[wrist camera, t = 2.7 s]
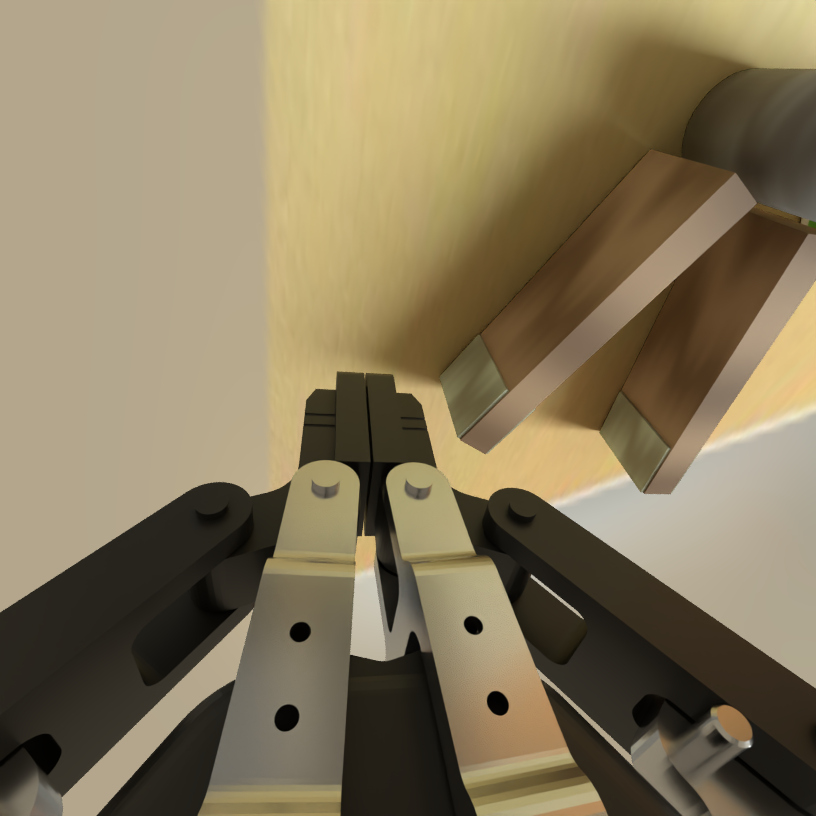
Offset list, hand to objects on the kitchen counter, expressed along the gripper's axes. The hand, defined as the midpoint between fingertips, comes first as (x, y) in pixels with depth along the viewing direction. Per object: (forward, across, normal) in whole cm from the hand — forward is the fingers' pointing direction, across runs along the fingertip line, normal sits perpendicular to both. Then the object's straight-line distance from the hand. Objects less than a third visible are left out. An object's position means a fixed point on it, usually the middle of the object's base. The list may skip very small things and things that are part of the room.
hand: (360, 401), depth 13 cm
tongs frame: (+9, -15, -1) cm, 17 cm away
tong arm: (+9, -9, 0) cm, 13 cm away
